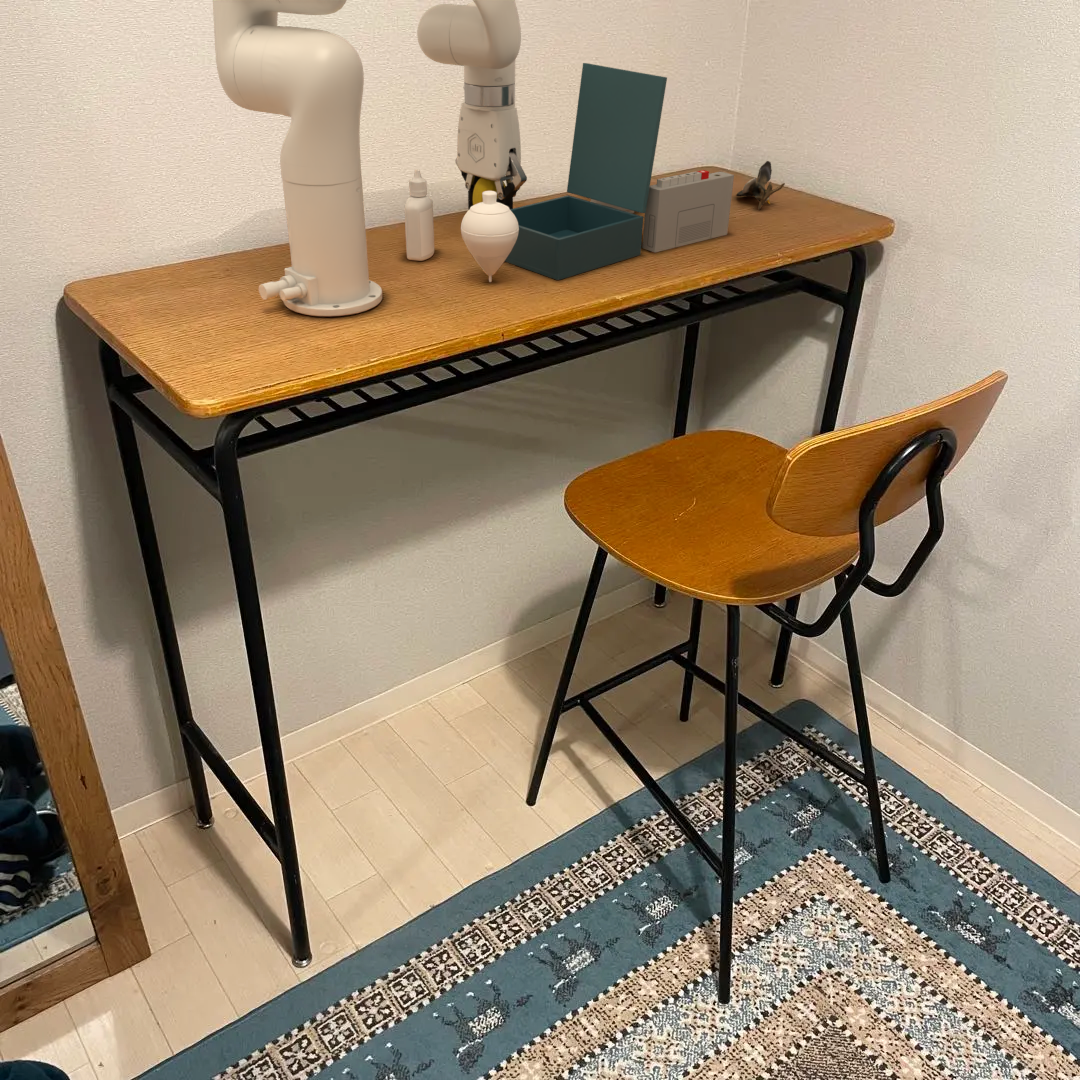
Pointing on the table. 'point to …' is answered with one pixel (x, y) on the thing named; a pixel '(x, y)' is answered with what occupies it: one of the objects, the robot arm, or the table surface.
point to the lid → (616, 136)
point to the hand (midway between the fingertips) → (490, 217)
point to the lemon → (483, 189)
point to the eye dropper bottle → (419, 220)
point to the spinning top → (489, 232)
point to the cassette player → (687, 209)
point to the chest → (573, 236)
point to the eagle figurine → (760, 186)
